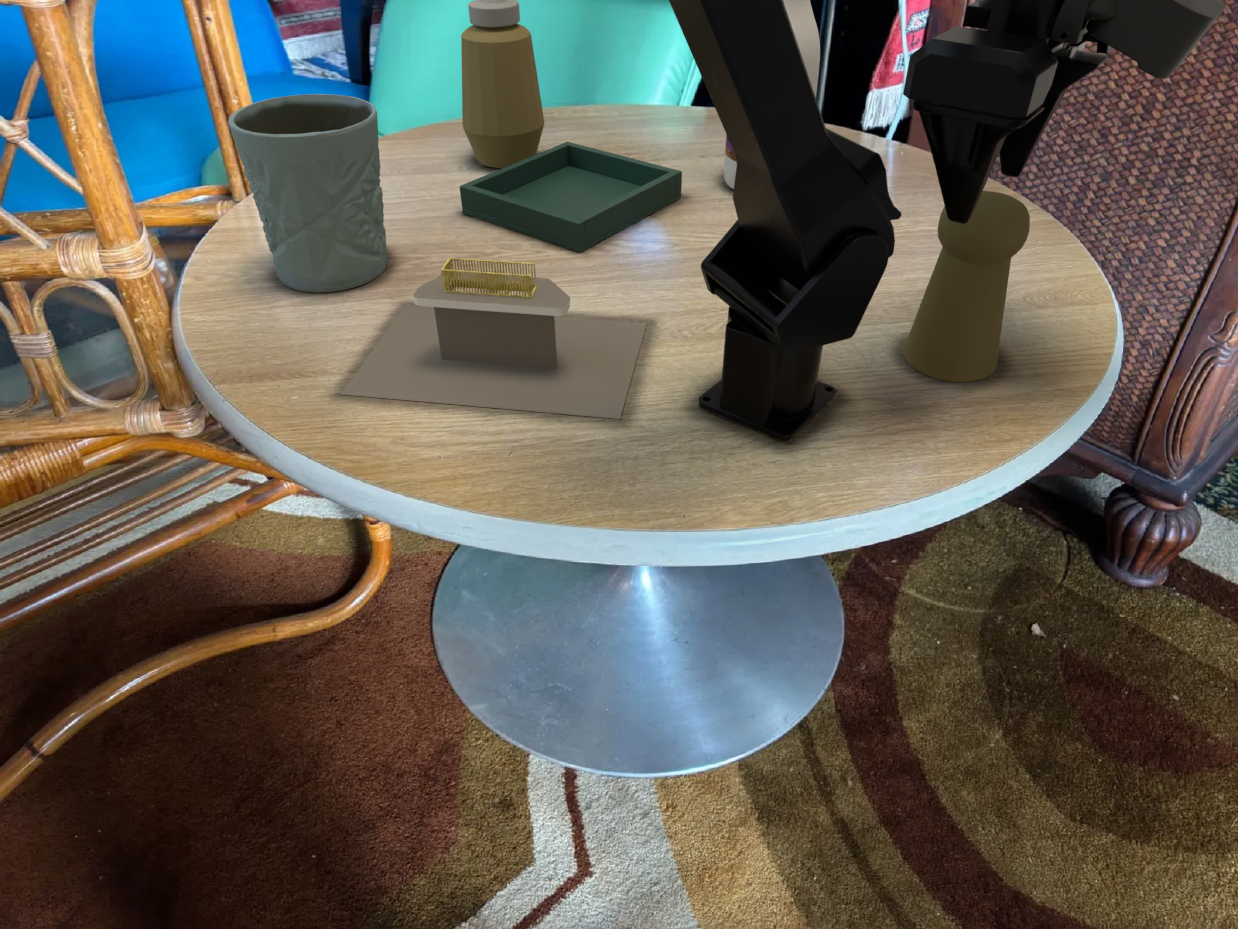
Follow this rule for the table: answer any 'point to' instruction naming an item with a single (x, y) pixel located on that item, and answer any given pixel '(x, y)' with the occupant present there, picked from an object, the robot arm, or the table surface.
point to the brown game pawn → (968, 292)
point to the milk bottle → (810, 52)
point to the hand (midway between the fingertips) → (985, 197)
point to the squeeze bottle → (500, 85)
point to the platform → (501, 348)
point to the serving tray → (571, 194)
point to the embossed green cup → (316, 187)
